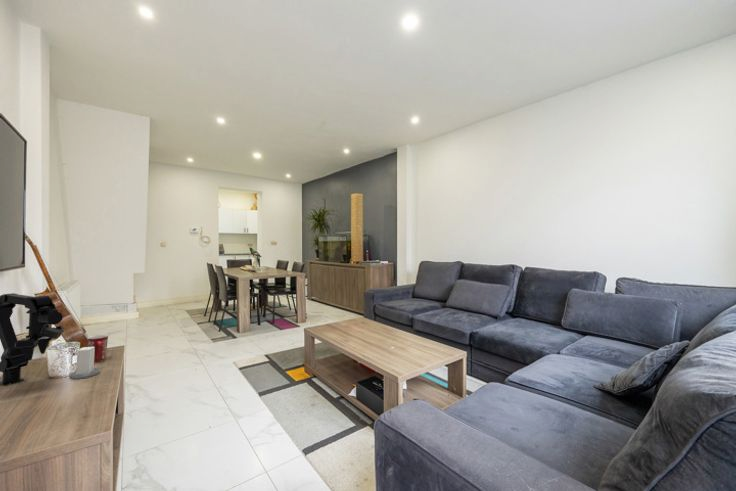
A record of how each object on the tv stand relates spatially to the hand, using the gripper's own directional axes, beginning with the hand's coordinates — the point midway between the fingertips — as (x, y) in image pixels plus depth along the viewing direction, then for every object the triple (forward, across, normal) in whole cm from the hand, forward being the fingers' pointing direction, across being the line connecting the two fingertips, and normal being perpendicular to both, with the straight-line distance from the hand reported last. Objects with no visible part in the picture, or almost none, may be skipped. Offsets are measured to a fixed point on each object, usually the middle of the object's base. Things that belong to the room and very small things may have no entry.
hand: (36, 356), depth 142 cm
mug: (+13, +29, -12) cm, 34 cm away
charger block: (+12, +7, -15) cm, 21 cm away
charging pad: (+13, +7, -15) cm, 21 cm away
